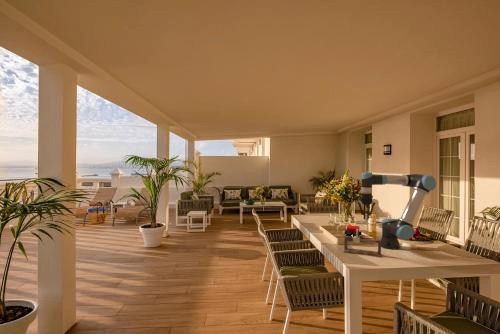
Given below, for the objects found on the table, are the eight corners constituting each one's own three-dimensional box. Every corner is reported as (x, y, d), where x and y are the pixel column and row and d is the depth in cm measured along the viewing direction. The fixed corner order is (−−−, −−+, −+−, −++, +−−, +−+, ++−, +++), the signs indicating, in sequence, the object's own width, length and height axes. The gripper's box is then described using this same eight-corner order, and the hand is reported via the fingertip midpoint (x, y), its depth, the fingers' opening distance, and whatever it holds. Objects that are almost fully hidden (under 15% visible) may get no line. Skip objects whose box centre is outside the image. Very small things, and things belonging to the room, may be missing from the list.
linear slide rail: (380, 253, 225) (381, 238, 225) (380, 257, 218) (381, 241, 217) (344, 249, 235) (345, 235, 235) (343, 252, 228) (344, 237, 227)
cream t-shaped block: (359, 241, 229) (360, 229, 229) (359, 243, 225) (359, 230, 224) (354, 241, 230) (354, 228, 230) (353, 242, 226) (354, 230, 226)
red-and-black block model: (343, 230, 261) (345, 224, 285) (343, 240, 262) (345, 233, 285) (361, 232, 256) (361, 226, 279) (360, 242, 256) (361, 235, 279)
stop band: (354, 240, 230) (354, 236, 230) (354, 241, 227) (354, 237, 227) (352, 240, 230) (353, 236, 230) (352, 241, 227) (352, 237, 227)
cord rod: (379, 243, 223) (379, 239, 223) (379, 244, 220) (379, 240, 220) (346, 239, 232) (346, 235, 232) (345, 240, 229) (345, 236, 229)
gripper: (357, 193, 223) (356, 224, 224) (375, 193, 218) (375, 225, 219) (357, 191, 230) (357, 222, 231) (375, 192, 225) (375, 223, 226)
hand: (366, 223), depth 225 cm, fingers closed
